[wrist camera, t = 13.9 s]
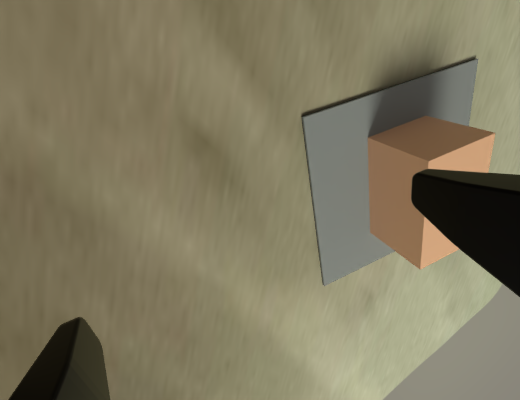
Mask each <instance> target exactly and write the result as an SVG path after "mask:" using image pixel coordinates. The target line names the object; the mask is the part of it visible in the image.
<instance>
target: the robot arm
mask: <svg viewBox="0 0 520 400" xmlns="http://www.w3.org/2000/svg"><path fill="white" fill-rule="evenodd" d="M411 201H412V204H413V205H414V207H415V208H416V209H417V210H418V211H419V212H420V213H421V214H422V215H423V216H424V217H426V218H427V219H428V220H429V221H430V222H431V223H432V224H433V225H434V226H435V227H436V228H437V229H438V230H439V231H440V232H441V233H442V234H443V235H444V236H445V237H446V238H447V239H448V240H450V241H451V242H452V243H453V244H454V245H455V246H456V247H458V248H459V249H460V250H461V251H463V252H464V253H465V254H466V255H468V256H469V257H470V258H471V259H473V260H474V261H475V262H476V263H478V264H479V265H480V266H481V267H483V268H484V269H485V270H486V271H488V272H489V273H490V274H491V275H493V276H494V277H495V278H496V279H498V280H499V281H500V282H501V283H503V284H504V285H505V286H506V287H508V288H509V289H510V290H511V291H513V292H514V293H515V294H516V295H518V296H519V297H520V175H513V174H498V173H484V172H469V171H454V170H440V169H425V170H422V171H420V172H417V173H415V174H414V175H413V177H412V188H411ZM9 400H110V395H109V389H108V382H107V376H106V369H105V363H104V356H103V350H102V346H101V343H100V341H99V339H98V338H97V336H96V335H95V333H94V332H93V331H92V329H91V328H90V326H89V325H88V323H87V322H86V321H85V320H84V319H83V318H81V317H77V318H75V319H73V320H70V321H68V322H66V323H63V324H62V325H60V326H59V327H58V329H57V330H56V332H55V333H54V335H53V336H52V337H51V339H50V340H49V342H48V343H47V345H46V346H45V348H44V349H43V350H42V352H41V353H40V355H39V356H38V358H37V359H36V361H35V362H34V363H33V365H32V366H31V368H30V369H29V371H28V372H27V374H26V375H25V376H24V378H23V379H22V381H21V382H20V384H19V385H18V387H17V388H16V389H15V391H14V392H13V394H12V395H11V397H10V398H9Z"/></svg>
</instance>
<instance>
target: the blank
mask: <svg viewBox="0 0 520 400" xmlns="http://www.w3.org/2000/svg"><path fill="white" fill-rule="evenodd" d="M494 138H495V133H493V132H489V131H485V130H481V129H477V128H473V127H469V126H465V125H461V124H457V123H453V122H449V121H445V120H441V119H437V118H433V117H429V116H423V117H421V118H418V119H416V120H413V121H410V122H408V123H405V124H402V125H400V126H397V127H394V128H392V129H389V130H386V131H384V132H381V133H379V134H376V135H373V136H371V137H368V171H369V209H370V233H372V234H373V235H374V236H376V237H377V238H378V239H380V240H381V241H382V242H384V243H385V244H386V245H388V246H389V247H390V248H392V249H393V250H395V251H396V252H397V253H399V254H400V255H401V256H403V257H404V258H405V259H407V260H408V261H409V262H411V263H412V264H413V265H415V266H416V267H418V268H419V269H422V268H424V267H426V266H428V265H430V264H432V263H434V262H436V261H437V260H439V259H441V258H443V257H445V256H447V255H449V254H451V253H453V252H455V251H456V250H458V249H459V248H458V247H456V246H455V245H454V244H453V243H452V242H451V241H450V240H448V239H447V238H446V237H445V236H444V235H443V234H442V233H441V232H440V231H439V230H438V229H437V228H436V227H435V226H434V225H433V224H432V223H431V222H430V221H429V220H428V219H427V218H426V217H424V216H423V215H422V214H421V213H420V212H419V211H418V210H417V209H416V208H415V207H414V205H413V204H412V201H411V188H412V177H413V175H414V174H415V173H417V172H420V171H422V170H425V169H440V170H454V171H469V172H484V173H488V170H489V165H490V160H491V154H492V149H493V143H494Z"/></svg>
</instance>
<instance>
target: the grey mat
mask: <svg viewBox="0 0 520 400" xmlns="http://www.w3.org/2000/svg"><path fill="white" fill-rule="evenodd" d="M477 64H478V59H474V60H471V61H468V62H465V63H462V64H459V65H456V66H453V67H450V68H447V69H444V70H441V71H438V72H435V73H432V74H429V75H426V76H423V77H420V78H417V79H414V80H411V81H408V82H405V83H402V84H399V85H396V86H393V87H390V88H387V89H384V90H381V91H378V92H375V93H372V94H369V95H366V96H363V97H360V98H357V99H354V100H351V101H348V102H345V103H342V104H339V105H336V106H333V107H330V108H327V109H324V110H321V111H318V112H315V113H312V114H309V115H306V116H303V117H302V123H303V131H304V139H305V147H306V155H307V163H308V170H309V178H310V186H311V194H312V202H313V210H314V218H315V226H316V234H317V242H318V249H319V257H320V265H321V273H322V281H323V285H324V286H325V285H327V284H329V283H331V282H334V281H336V280H338V279H340V278H342V277H344V276H346V275H348V274H350V273H352V272H354V271H356V270H358V269H360V268H362V267H364V266H366V265H368V264H370V263H372V262H374V261H376V260H378V259H380V258H382V257H384V256H386V255H388V254H390V253H392V252H394V251H395V250H393V249H392V248H390V247H389V246H388V245H386V244H385V243H384V242H382V241H381V240H380V239H378V238H377V237H376V236H374V235H373V234H372V233H370V209H369V171H368V137H371V136H373V135H376V134H379V133H381V132H384V131H386V130H389V129H392V128H394V127H397V126H400V125H402V124H405V123H408V122H410V121H413V120H416V119H418V118H421V117H423V116H429V117H433V118H437V119H441V120H445V121H449V122H453V123H457V124H461V125H465V126H469V120H470V113H471V106H472V99H473V92H474V85H475V78H476V71H477Z"/></svg>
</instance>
